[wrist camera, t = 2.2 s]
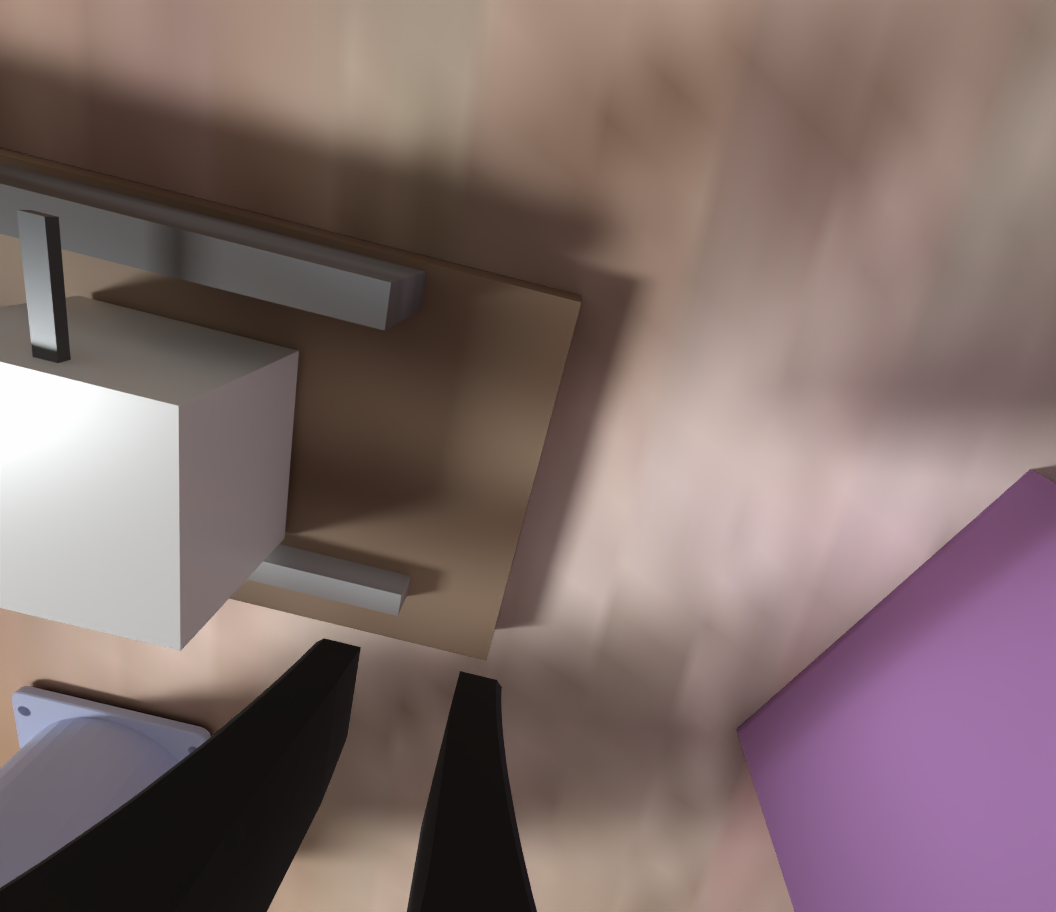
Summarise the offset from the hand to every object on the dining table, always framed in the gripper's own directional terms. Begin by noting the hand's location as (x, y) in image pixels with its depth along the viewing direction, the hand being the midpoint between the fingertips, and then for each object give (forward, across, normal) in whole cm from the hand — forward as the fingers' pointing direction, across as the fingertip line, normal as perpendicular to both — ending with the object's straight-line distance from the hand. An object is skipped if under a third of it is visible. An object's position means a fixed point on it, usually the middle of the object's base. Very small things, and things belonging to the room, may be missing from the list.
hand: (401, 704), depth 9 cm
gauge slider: (+8, +8, -1) cm, 12 cm away
